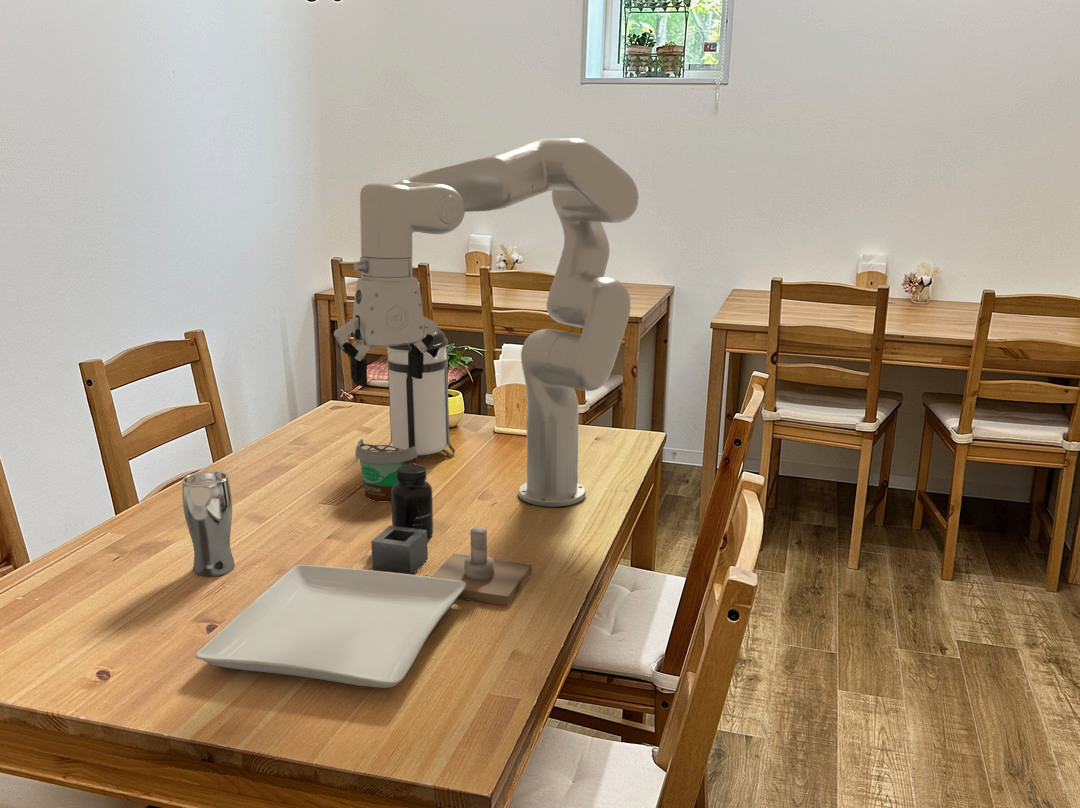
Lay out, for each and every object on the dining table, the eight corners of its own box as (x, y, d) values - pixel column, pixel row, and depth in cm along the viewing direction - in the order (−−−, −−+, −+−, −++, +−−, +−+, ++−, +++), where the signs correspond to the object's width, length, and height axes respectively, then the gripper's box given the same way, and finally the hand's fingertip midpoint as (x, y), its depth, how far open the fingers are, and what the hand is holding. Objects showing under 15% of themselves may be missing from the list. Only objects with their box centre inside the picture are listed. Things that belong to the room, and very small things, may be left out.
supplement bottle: (426, 545, 150) (423, 477, 147) (386, 542, 152) (383, 474, 148) (438, 529, 157) (436, 463, 154) (400, 526, 158) (398, 460, 155)
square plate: (469, 602, 133) (468, 577, 131) (399, 710, 107) (398, 681, 106) (298, 582, 138) (296, 558, 137) (193, 680, 113) (189, 652, 112)
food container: (344, 498, 170) (341, 447, 168) (362, 488, 176) (359, 438, 173) (401, 508, 166) (399, 456, 163) (418, 497, 171) (416, 446, 169)
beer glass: (247, 562, 144) (239, 473, 140) (218, 581, 138) (209, 488, 134) (210, 556, 146) (201, 467, 142) (180, 574, 140) (170, 482, 136)
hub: (391, 554, 147) (390, 525, 146) (427, 559, 145) (426, 530, 144) (372, 570, 141) (371, 541, 140) (410, 576, 139) (409, 546, 138)
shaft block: (453, 562, 144) (452, 512, 142) (531, 573, 141) (531, 522, 138) (424, 593, 134) (422, 539, 132) (508, 606, 130) (507, 551, 128)
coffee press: (466, 444, 202) (463, 310, 194) (442, 468, 187) (438, 323, 179) (392, 438, 206) (386, 306, 198) (363, 461, 191) (356, 319, 183)
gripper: (346, 274, 128) (349, 392, 132) (449, 269, 139) (448, 379, 143) (321, 268, 133) (325, 383, 138) (422, 264, 144) (423, 370, 148)
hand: (388, 380), depth 140 cm, fingers open, 9 cm apart
